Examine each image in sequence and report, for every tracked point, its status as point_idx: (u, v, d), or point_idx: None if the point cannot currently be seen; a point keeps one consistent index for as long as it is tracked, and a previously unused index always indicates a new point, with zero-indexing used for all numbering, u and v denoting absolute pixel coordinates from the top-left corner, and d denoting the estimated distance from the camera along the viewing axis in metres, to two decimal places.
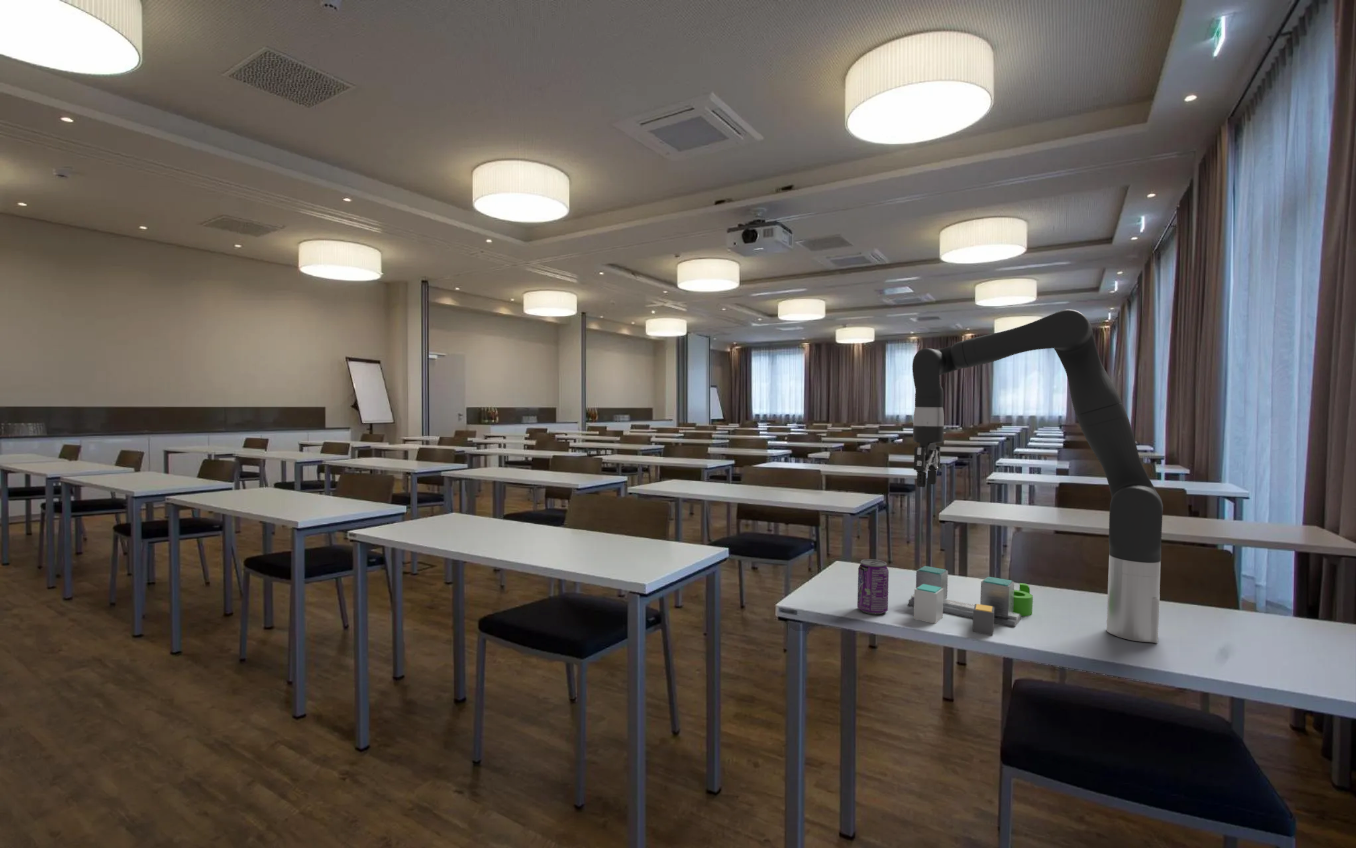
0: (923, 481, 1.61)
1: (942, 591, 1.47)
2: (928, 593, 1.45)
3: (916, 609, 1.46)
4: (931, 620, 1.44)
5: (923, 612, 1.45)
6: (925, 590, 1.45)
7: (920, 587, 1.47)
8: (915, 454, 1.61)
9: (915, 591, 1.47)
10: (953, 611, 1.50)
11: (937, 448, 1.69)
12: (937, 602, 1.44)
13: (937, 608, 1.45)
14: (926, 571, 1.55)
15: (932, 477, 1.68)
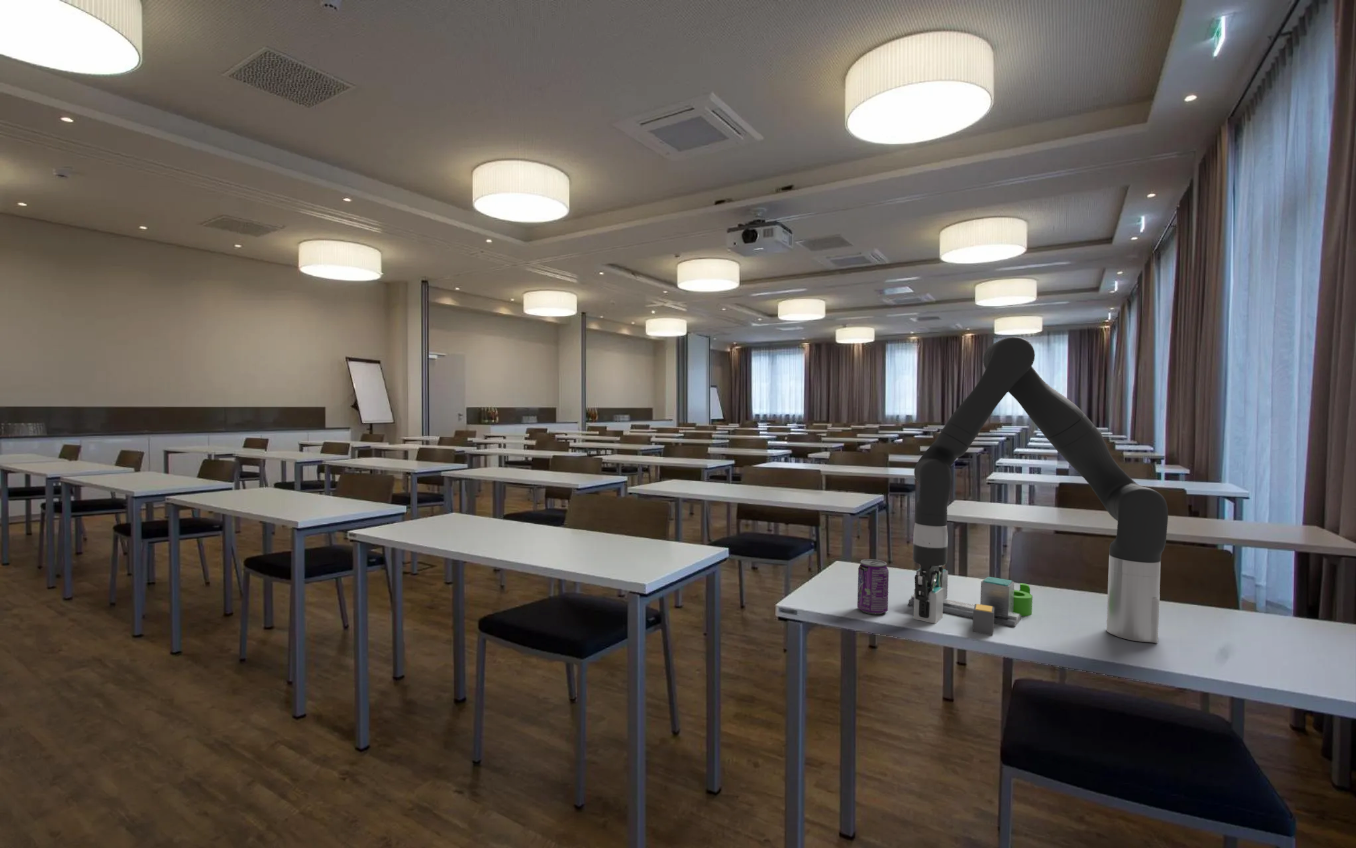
0: (926, 612, 1.44)
1: (942, 591, 1.47)
2: None
3: (916, 609, 1.46)
4: (931, 620, 1.44)
5: None
6: None
7: None
8: (916, 584, 1.43)
9: None
10: (953, 611, 1.50)
11: (940, 569, 1.51)
12: (937, 601, 1.44)
13: (937, 607, 1.45)
14: None
15: None
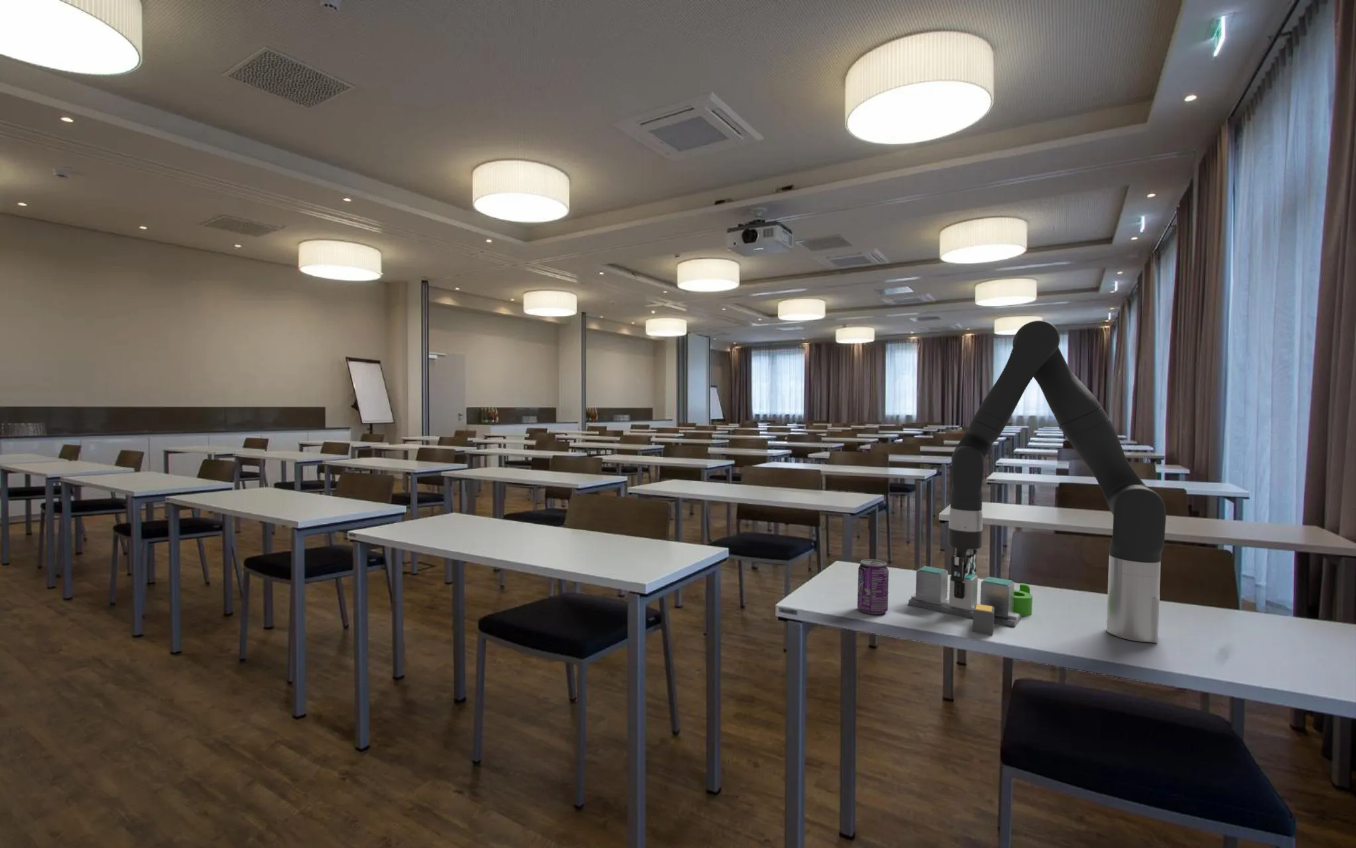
0: (961, 592, 1.48)
1: (976, 578, 1.52)
2: None
3: (952, 595, 1.51)
4: (967, 606, 1.49)
5: None
6: None
7: None
8: (952, 564, 1.47)
9: (950, 578, 1.51)
10: (953, 611, 1.50)
11: (974, 551, 1.56)
12: (972, 588, 1.49)
13: (972, 594, 1.50)
14: (926, 571, 1.55)
15: None
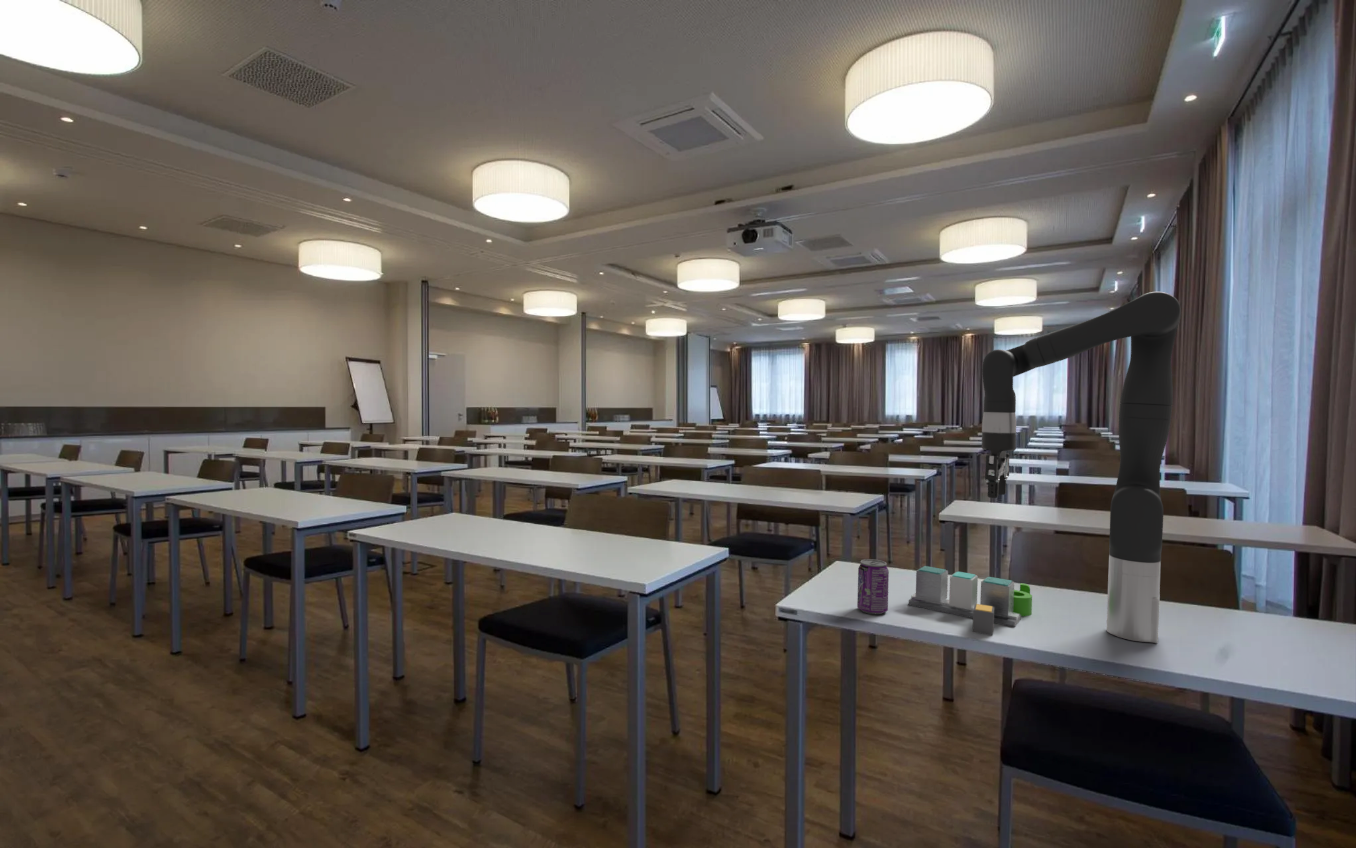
0: (995, 491, 1.51)
1: (976, 578, 1.52)
2: (964, 580, 1.50)
3: (952, 595, 1.51)
4: (967, 606, 1.49)
5: (959, 598, 1.50)
6: (960, 577, 1.50)
7: (955, 574, 1.52)
8: (987, 463, 1.50)
9: (950, 578, 1.51)
10: (953, 611, 1.50)
11: (1006, 456, 1.59)
12: (972, 588, 1.49)
13: (972, 594, 1.50)
14: (926, 571, 1.55)
15: (1001, 487, 1.58)
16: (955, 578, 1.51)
